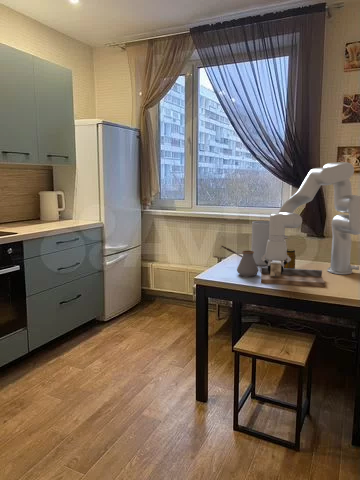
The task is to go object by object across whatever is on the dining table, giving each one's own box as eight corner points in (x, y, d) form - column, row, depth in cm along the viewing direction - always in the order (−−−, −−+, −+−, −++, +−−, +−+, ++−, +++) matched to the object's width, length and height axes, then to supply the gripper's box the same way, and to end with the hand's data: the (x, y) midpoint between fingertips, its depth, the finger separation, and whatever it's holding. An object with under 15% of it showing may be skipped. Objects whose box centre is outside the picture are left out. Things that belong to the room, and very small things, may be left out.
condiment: (280, 269, 208) (281, 248, 205) (294, 268, 209) (295, 248, 207) (286, 273, 201) (287, 251, 198) (300, 272, 202) (302, 250, 200)
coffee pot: (260, 273, 200) (261, 246, 197) (255, 279, 190) (255, 250, 187) (223, 269, 209) (224, 243, 206) (216, 274, 199) (216, 247, 196)
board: (321, 279, 188) (321, 270, 187) (324, 286, 176) (325, 276, 175) (261, 276, 194) (261, 267, 193) (260, 283, 183) (261, 273, 182)
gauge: (280, 273, 190) (280, 262, 189) (281, 278, 181) (281, 267, 180) (270, 272, 191) (270, 261, 190) (270, 278, 182) (271, 266, 181)
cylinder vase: (249, 264, 218) (250, 223, 214) (253, 260, 230) (254, 220, 225) (270, 266, 214) (272, 224, 209) (273, 261, 225) (275, 221, 220)
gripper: (293, 237, 186) (292, 272, 190) (259, 236, 190) (258, 270, 193) (295, 240, 179) (293, 276, 182) (259, 239, 183) (258, 274, 186)
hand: (275, 272), depth 188 cm, fingers closed on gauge, 5 cm apart
